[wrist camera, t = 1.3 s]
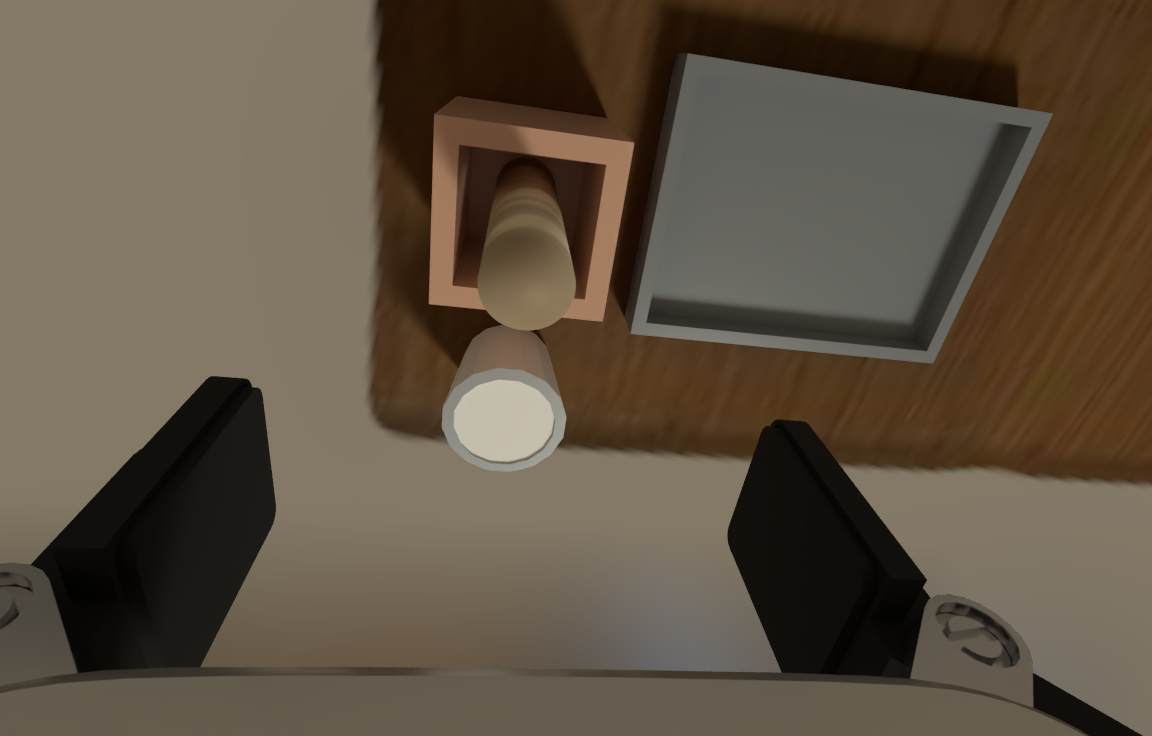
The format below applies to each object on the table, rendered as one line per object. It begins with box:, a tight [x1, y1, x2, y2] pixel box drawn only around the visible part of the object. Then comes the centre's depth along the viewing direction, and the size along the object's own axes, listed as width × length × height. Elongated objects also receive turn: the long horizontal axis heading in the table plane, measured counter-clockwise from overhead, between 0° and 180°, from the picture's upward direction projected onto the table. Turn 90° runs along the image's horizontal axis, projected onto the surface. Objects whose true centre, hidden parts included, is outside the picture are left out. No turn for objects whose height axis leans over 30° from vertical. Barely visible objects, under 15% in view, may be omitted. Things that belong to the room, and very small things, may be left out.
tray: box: [624, 53, 1053, 363], centre depth 35 cm, size 20×15×2 cm
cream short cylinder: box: [442, 325, 567, 472], centre depth 36 cm, size 7×7×7 cm
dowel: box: [477, 157, 576, 331], centre depth 26 cm, size 3×3×15 cm
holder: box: [429, 96, 634, 322], centre depth 29 cm, size 8×8×9 cm
